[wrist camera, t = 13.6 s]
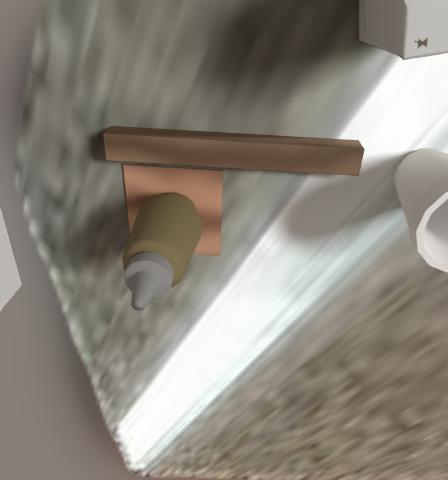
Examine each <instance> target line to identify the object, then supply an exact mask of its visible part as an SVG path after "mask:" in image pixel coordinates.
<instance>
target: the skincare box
mask: <svg viewBox="0 0 448 480" xmlns="http://www.w3.org/2000/svg"><path fill="white" fill-rule="evenodd" d="M359 40H360V41H362V42H365V43H368V44H370V45H373V46H375V47H378V48H380V49H383V50H385V51H388V52H390V53H393V54H396V55H398V56H399V57H401V58H402V59H403V60H407V59H413V58H420V57H426V56H432V55H438V54H444V53H448V0H359Z"/></svg>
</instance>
